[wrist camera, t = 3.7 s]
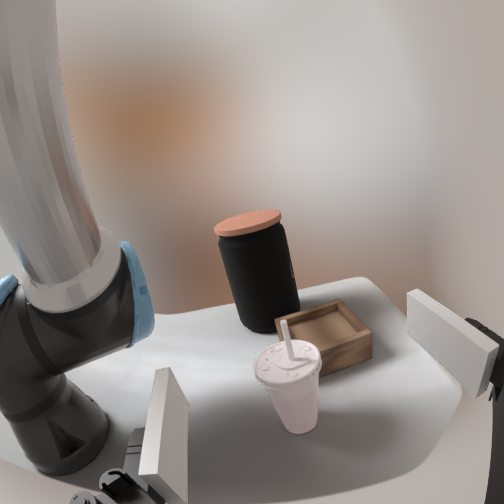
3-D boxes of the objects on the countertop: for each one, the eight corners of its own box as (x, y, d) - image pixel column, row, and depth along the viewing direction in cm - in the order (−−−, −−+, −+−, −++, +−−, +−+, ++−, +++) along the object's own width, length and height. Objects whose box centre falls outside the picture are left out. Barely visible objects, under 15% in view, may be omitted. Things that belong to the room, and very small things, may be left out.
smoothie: (319, 448, 26) (300, 347, 21) (263, 437, 29) (226, 340, 24) (336, 404, 31) (323, 302, 26) (285, 397, 34) (259, 301, 30)
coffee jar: (313, 314, 50) (294, 211, 45) (260, 343, 46) (230, 234, 41) (280, 296, 60) (259, 207, 54) (232, 319, 56) (204, 226, 50)
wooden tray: (297, 384, 36) (292, 360, 34) (279, 341, 46) (274, 319, 44) (372, 357, 36) (371, 332, 35) (342, 320, 46) (340, 298, 45)
